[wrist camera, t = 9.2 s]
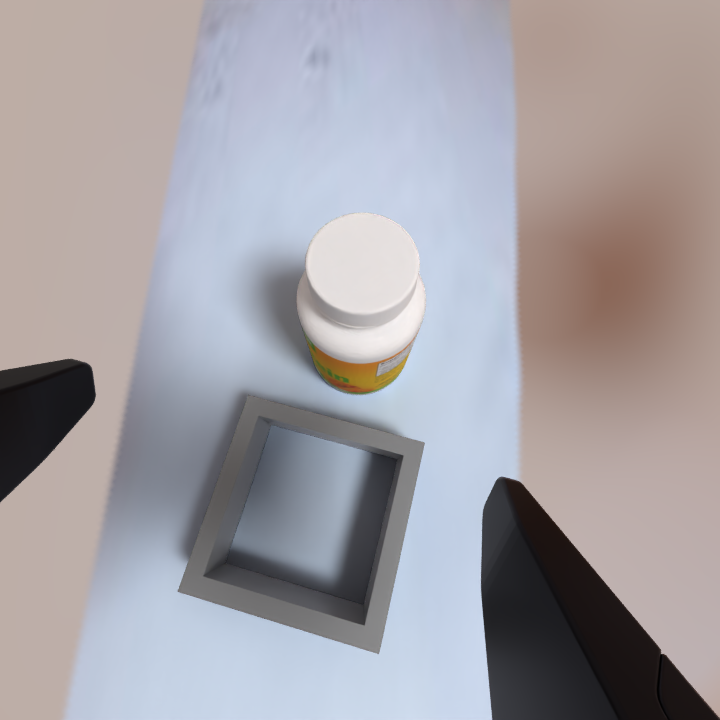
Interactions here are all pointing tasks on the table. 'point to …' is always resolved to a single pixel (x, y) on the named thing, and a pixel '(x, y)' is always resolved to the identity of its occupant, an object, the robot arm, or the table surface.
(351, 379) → the supplement bottle
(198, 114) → the table surface
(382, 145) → the table surface
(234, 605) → the frame
